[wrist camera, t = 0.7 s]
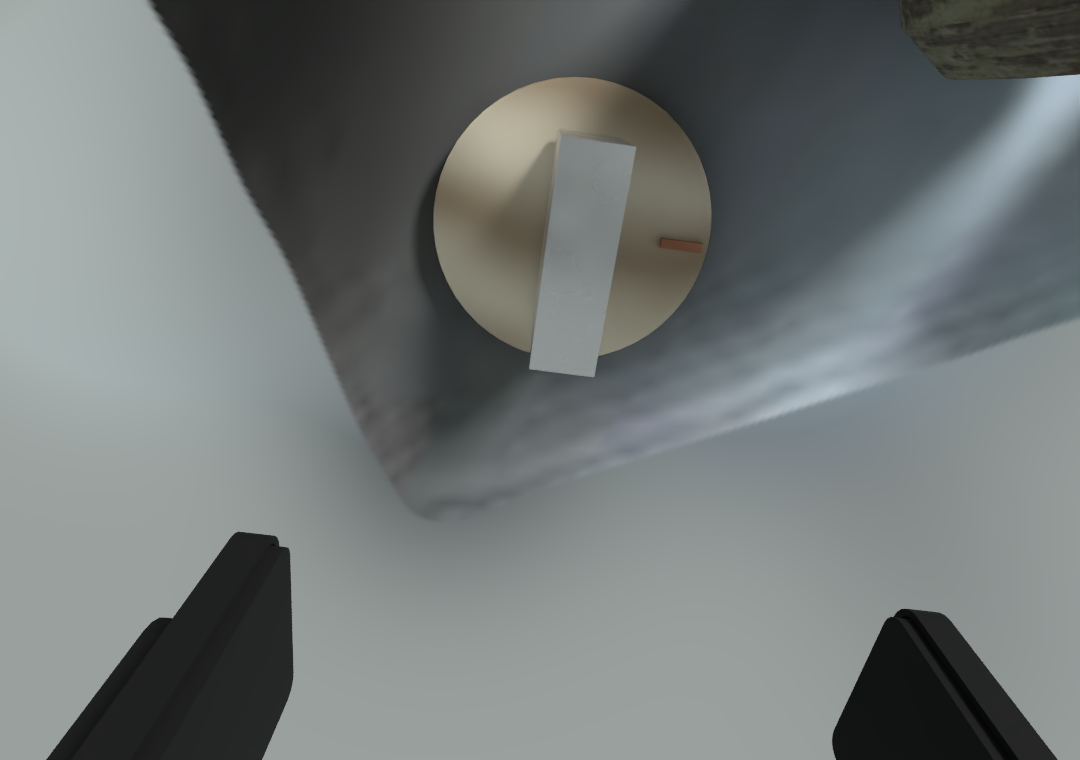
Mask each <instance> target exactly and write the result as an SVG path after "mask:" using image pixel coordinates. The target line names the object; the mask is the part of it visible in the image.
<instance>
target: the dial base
mask: <svg viewBox="0 0 1080 760" xmlns="http://www.w3.org/2000/svg"><path fill="white" fill-rule="evenodd" d="M558 128H559V129H566V130H573V131H580V132H587V133H594V134H601V135H607V136H614V137H618V138H620V139H622V140H624V141H626V142H628V143H630V144H632V145H634V146H636V152H635V157H634V163H633V168H632V174H631V179H630V185H629V190H628V195H627V201H626V206H625V212H624V217H623V223H622V228H621V234H620V239H619V245H618V250H617V256H616V261H615V267H614V272H613V278H612V283H611V288H610V294H609V299H608V305H607V310H606V316H605V321H604V327H603V332H602V338H601V343H600V349H599V354H598V356H601V355H605V354H608V353H611V352H614V351H618V350H620V349H622V348H625V347H627V346H629V345H631V344H634V343H635V342H637V341H639V340H640V339H642V338H644V337H646V336H647V335H649V334H650V333H651V332H653V331H654V330H655V329H657V328H658V327H659V326H660V325H662V324H663V323H664V322H665V321H666V320H667V319H668V318H669V317H670V316H671V315H672V314H673V313H674V312H675V311H676V310H677V308H678V307H679V306H680V305H681V303H682V302H683V301H684V299H685V298H686V297H687V295H688V293H689V292H690V290H691V288H692V287H693V285H694V284H695V282H696V279H697V277H698V275H699V273H700V270H701V268H702V266H703V263H704V259H705V256H706V253H707V250H708V245H709V239H710V233H711V216H712V210H711V199H710V191H709V187H708V182H707V178H706V174H705V171H704V169H703V166H702V163H701V161H700V158H699V156H698V154H697V152H696V150H695V148H694V147H693V145H692V143H691V141H690V139H689V138H688V137H687V135H686V134H685V133H684V131H683V130H682V129H681V127H680V126H679V125H678V124H677V123H676V122H675V120H674V119H673V118H672V117H671V116H670V115H669V114H668V113H667V112H666V111H665V110H663V109H662V108H661V107H659V106H658V105H657V104H655V103H654V102H653V101H652V100H650V99H649V98H647V97H645V96H643V95H641V94H640V93H638V92H636V91H634V90H632V89H630V88H627V87H624V86H622V85H619V84H617V83H614V82H609V81H605V80H600V79H596V78H584V77H566V78H554V79H550V80H545V81H541V82H536V83H533V84H531V85H528V86H525V87H523V88H520V89H517V90H515V91H514V92H512V93H510V94H508V95H506V96H504V97H503V98H501V99H499V100H498V101H496V102H495V103H494V104H492V105H491V106H490V107H488V108H487V109H486V110H484V111H483V112H482V113H481V114H480V115H479V116H478V117H477V118H476V119H475V120H474V121H473V122H472V123H471V124H470V125H469V126H468V128H467V129H466V130H465V131H464V133H463V134H462V135H461V137H460V138H459V139H458V141H457V142H456V144H455V146H454V148H453V149H452V151H451V153H450V154H449V156H448V158H447V161H446V163H445V166H444V168H443V170H442V173H441V176H440V180H439V183H438V187H437V191H436V196H435V204H434V237H435V245H436V250H437V254H438V258H439V262H440V265H441V268H442V270H443V273H444V275H445V278H446V280H447V282H448V284H449V286H450V288H451V290H452V291H453V293H454V295H455V297H456V298H457V299H458V301H459V302H460V303H461V305H462V306H463V308H464V309H465V310H466V311H467V312H468V313H469V315H470V316H471V317H472V318H473V319H474V320H475V321H476V322H477V323H478V324H479V325H481V326H482V327H483V328H484V329H486V330H487V331H488V332H489V333H490V334H492V335H494V336H495V337H497V338H498V339H500V340H502V341H503V342H505V343H507V344H509V345H511V346H513V347H515V348H518V349H520V350H523V351H526V352H529V353H530V347H531V332H532V317H533V310H534V303H535V295H536V288H537V280H538V273H539V265H540V258H541V251H542V243H543V236H544V228H545V221H546V214H547V206H548V199H549V191H550V184H551V176H552V169H553V162H554V154H555V147H556V139H557V132H558Z"/></svg>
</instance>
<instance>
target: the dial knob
mask: <svg viewBox="0 0 1080 760" xmlns="http://www.w3.org/2000/svg"><path fill="white" fill-rule="evenodd" d="M635 152H636V146H634V145H632V144H630V143H628V142H626V141H624V140H622V139H620V138H618V137H614V136H607V135H601V134H594V133H587V132H580V131H573V130H566V129H559V128H558V132H557V139H556V147H555V154H554V162H553V169H552V176H551V184H550V191H549V199H548V206H547V214H546V221H545V228H544V236H543V243H542V251H541V258H540V265H539V273H538V280H537V288H536V295H535V303H534V310H533V317H532V332H531V347H530V363H529V369H532V370H540V371H548V372H556V373H564V374H571V375H579V376H587V377H594V376H595V370H596V365H597V360H598V354H599V349H600V343H601V338H602V332H603V327H604V321H605V316H606V310H607V305H608V299H609V294H610V288H611V283H612V278H613V272H614V267H615V261H616V256H617V250H618V245H619V239H620V234H621V228H622V223H623V217H624V212H625V206H626V201H627V195H628V190H629V185H630V179H631V174H632V168H633V163H634V157H635Z"/></svg>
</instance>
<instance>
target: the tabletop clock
mask: <svg viewBox="0 0 1080 760" xmlns="http://www.w3.org/2000/svg"><path fill="white" fill-rule="evenodd" d="M899 6H900V15H901V25H902V29H903V30H904V31H905V33H906V34H907V35H908V36H909V37H910V38H911V39H912V41H913V42H914V43H915V44H916V45H917V46H918V47H919V49H920V50H921V51H922V52H923V53H924V54H925V56H926V57H927V58H928V59H929V60H930V61H931V62H932V64H933V65H934V66H935V67H936V68H937V69H938V70H939V72H940V73H941V74H942V75H943V76H945V77H946V78H951V79H962V80H964V79H1010V78H1035V77H1049V76H1063V75H1077V74H1080V0H899Z"/></svg>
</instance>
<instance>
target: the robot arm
mask: <svg viewBox="0 0 1080 760" xmlns="http://www.w3.org/2000/svg"><path fill="white" fill-rule="evenodd" d="M292 681H293V644H292V608H291V572H290V551H289V549H288V548H286V547H279V541H278V539H277V537H276V536H271V535H262V534H254V533H245V532H237V533H235V534H234V535H233V536H232V537H231V538H230V539H229V541H228V543H227V544H226V545H225V547H224V548H223V549H222V551H221V552H220V553H219V555H218V556H217V558H216V559H215V560H214V562H213V563H212V565H211V566H210V567H209V569H208V570H207V572H206V573H205V574H204V576H203V577H202V578H201V580H200V581H199V583H198V584H197V585H196V587H195V588H194V590H193V591H192V592H191V594H190V595H189V597H188V598H187V599H186V601H185V602H184V603H183V605H182V606H181V608H180V609H179V610H178V612H177V613H176V615H175V616H174V617H173V618H158V619H156V620H155V621H153V622H152V623H151V624H150V625H149V626H148V627H147V628H146V629H145V630H144V631H143V633H142V634H141V635H140V636H139V638H138V639H137V640H136V642H135V643H134V645H133V646H132V647H131V648H130V650H129V651H128V652H127V654H126V655H125V656H124V658H123V659H122V660H121V662H120V663H119V664H118V666H117V667H116V668H115V670H114V671H113V672H112V674H111V675H110V676H109V677H108V679H107V680H106V682H105V683H104V684H103V685H102V687H101V688H100V689H99V691H98V692H97V693H96V695H95V696H94V697H93V699H92V700H91V701H90V703H89V704H88V705H87V707H86V708H85V710H84V711H83V712H82V713H81V714H80V716H79V717H78V718H77V720H76V721H75V722H74V724H73V725H72V726H71V728H70V729H69V730H68V732H67V733H66V734H65V736H64V737H63V738H62V740H61V741H60V743H59V744H58V745H57V746H56V748H55V749H54V750H53V752H52V753H51V754H50V756H49V757H48V758H47V759H46V760H262V758H263V756H264V754H265V751H266V749H267V746H268V744H269V742H270V740H271V737H272V735H273V733H274V730H275V728H276V726H277V723H278V721H279V719H280V716H281V714H282V712H283V710H284V707H285V705H286V702H287V700H288V697H289V694H290V691H291V687H292ZM832 745H833V751H834V755H835V758H836V760H1057V758H1056V757H1055V756H1054V754H1053V753H1052V752H1051V750H1050V749H1049V748H1048V747H1047V745H1046V744H1045V743H1044V742H1043V740H1042V739H1041V738H1040V736H1039V735H1038V734H1037V733H1036V731H1035V730H1034V728H1033V727H1032V726H1031V725H1030V723H1029V722H1028V721H1027V719H1026V718H1025V717H1024V716H1023V714H1022V713H1021V712H1020V710H1019V709H1018V708H1017V707H1016V705H1015V704H1014V703H1013V701H1012V700H1011V699H1010V697H1009V696H1008V695H1007V693H1006V692H1005V691H1004V690H1003V688H1002V687H1001V686H1000V684H999V683H998V682H997V680H996V679H995V678H994V677H993V675H992V674H991V673H990V672H989V670H988V669H987V668H986V666H985V665H984V664H983V662H982V661H981V660H980V658H979V657H978V656H977V655H976V653H975V652H974V651H973V650H972V648H971V647H970V645H969V644H968V643H967V642H966V640H965V639H964V638H963V636H962V635H961V634H960V633H959V631H958V630H957V629H956V627H955V626H954V625H953V623H952V622H951V621H950V620H949V619H948V618H947V617H946V616H945V615H943V614H941V613H938V612H928V611H920V610H912V609H901V610H899V611H898V612H897V613H896V614H895V616H894V617H890V618H888V619H887V620H886V621H885V623H884V625H883V627H882V629H881V631H880V634H879V635H878V637H877V640H876V642H875V644H874V646H873V648H872V650H871V652H870V655H869V657H868V659H867V661H866V663H865V665H864V667H863V669H862V672H861V674H860V676H859V678H858V680H857V682H856V684H855V687H854V689H853V691H852V693H851V695H850V697H849V699H848V702H847V704H846V706H845V708H844V710H843V712H842V714H841V716H840V718H839V721H838V723H837V725H836V727H835V729H834V732H833V738H832Z"/></svg>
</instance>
